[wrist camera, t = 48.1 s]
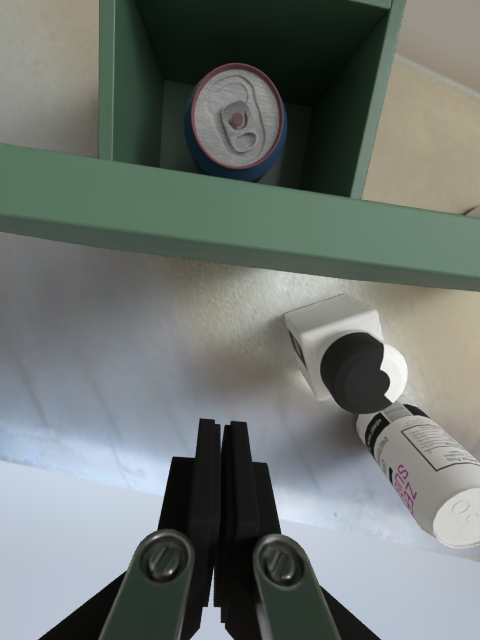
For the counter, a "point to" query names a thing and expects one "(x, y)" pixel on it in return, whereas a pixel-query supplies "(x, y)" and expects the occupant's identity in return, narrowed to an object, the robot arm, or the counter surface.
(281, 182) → the bread box
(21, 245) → the counter surface
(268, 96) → the soda can
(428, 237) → the bread box lid
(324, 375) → the container
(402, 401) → the supplement can
